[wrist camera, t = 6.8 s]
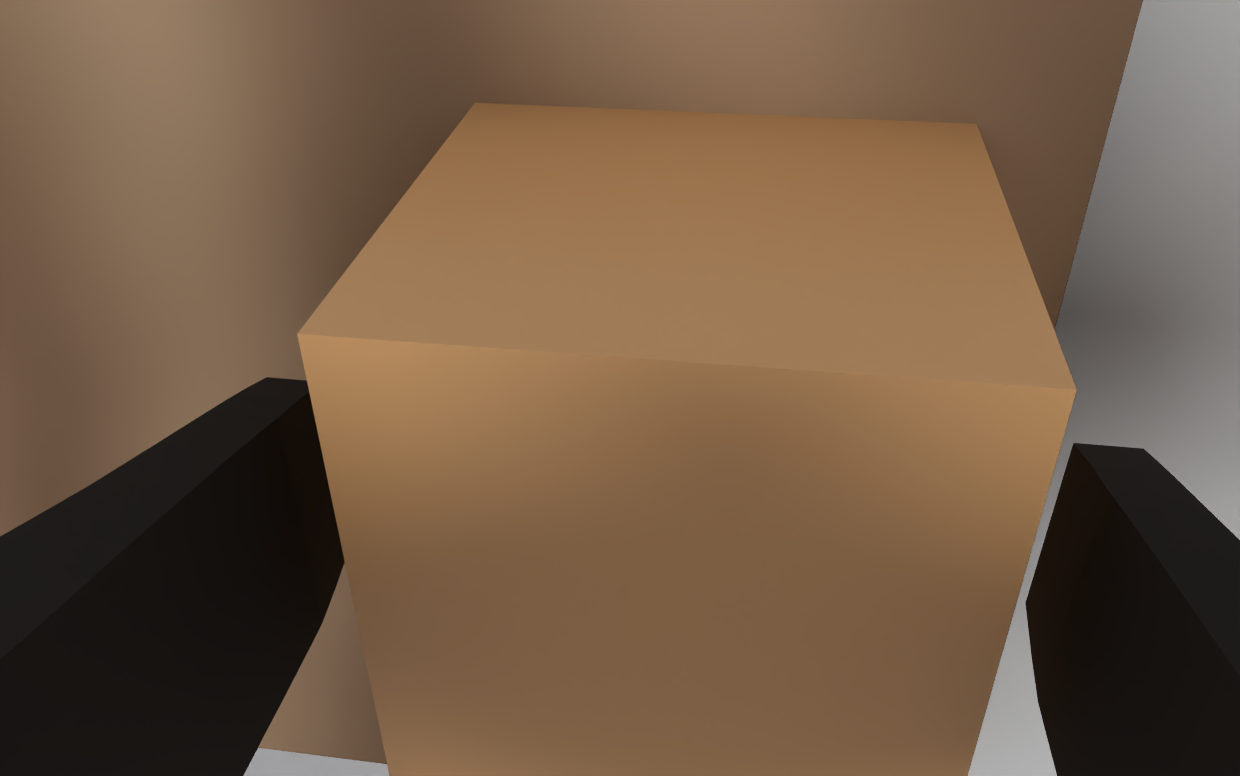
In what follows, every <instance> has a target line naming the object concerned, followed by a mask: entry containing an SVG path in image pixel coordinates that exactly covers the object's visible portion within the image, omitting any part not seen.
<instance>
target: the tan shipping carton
mask: <svg viewBox="0 0 1240 776" xmlns="http://www.w3.org/2000/svg"><path fill="white" fill-rule="evenodd" d="M297 336H298V341H299V345H300V350H301V355H302V360H303V364H304V369H305V374H306V379H307V384H308V388H309V393H310V398H311V403H312V407H313V412H314V417H315V422H316V427H317V431H318V436H319V441H320V446H321V450H322V455H323V460H324V465H325V470H326V474H327V479H328V484H329V489H330V493H331V498H332V503H333V508H334V513H335V517H336V522H337V527H338V532H339V536H340V541H341V546H342V551H343V556H344V560H345V565H346V570H347V575H348V579H349V584H350V589H351V594H352V599H353V603H354V608H355V613H356V618H357V622H358V627H359V632H360V637H361V642H362V646H363V651H364V656H365V661H366V665H367V670H368V675H369V680H370V684H371V689H372V694H373V699H374V704H375V708H376V713H377V718H378V723H379V727H380V732H381V737H382V742H383V747H384V751H385V756H386V761H387V766H388V770H389V775H390V776H968V772H969V769H970V765H971V762H972V758H973V754H974V751H975V747H976V744H977V740H978V737H979V733H980V730H981V726H982V723H983V719H984V716H985V712H986V709H987V705H988V702H989V698H990V694H991V691H992V687H993V684H994V680H995V677H996V673H997V670H998V666H999V663H1000V659H1001V656H1002V652H1003V649H1004V645H1005V642H1006V638H1007V635H1008V631H1009V627H1010V624H1011V620H1012V617H1013V613H1014V610H1015V606H1016V603H1017V599H1018V596H1019V592H1020V589H1021V585H1022V582H1023V578H1024V575H1025V571H1026V567H1027V564H1028V560H1029V557H1030V553H1031V550H1032V546H1033V543H1034V539H1035V536H1036V532H1037V529H1038V525H1039V522H1040V518H1041V515H1042V511H1043V507H1044V504H1045V500H1046V497H1047V493H1048V490H1049V486H1050V483H1051V479H1052V476H1053V472H1054V469H1055V465H1056V462H1057V458H1058V455H1059V451H1060V448H1061V444H1062V440H1063V437H1064V433H1065V430H1066V426H1067V423H1068V419H1069V416H1070V412H1071V409H1072V405H1073V402H1074V398H1075V395H1076V391H1077V389H1076V386H1075V383H1074V381H1073V378H1072V376H1071V373H1070V370H1069V368H1068V365H1067V362H1066V360H1065V357H1064V354H1063V352H1062V349H1061V346H1060V344H1059V341H1058V338H1057V336H1056V333H1055V330H1054V328H1053V325H1052V322H1051V320H1050V317H1049V314H1048V312H1047V309H1046V307H1045V304H1044V301H1043V299H1042V296H1041V293H1040V291H1039V288H1038V285H1037V283H1036V280H1035V277H1034V275H1033V272H1032V269H1031V267H1030V264H1029V261H1028V259H1027V256H1026V253H1025V251H1024V248H1023V246H1022V243H1021V240H1020V238H1019V235H1018V232H1017V230H1016V227H1015V224H1014V222H1013V219H1012V216H1011V214H1010V211H1009V208H1008V206H1007V203H1006V200H1005V198H1004V195H1003V192H1002V190H1001V187H1000V184H999V182H998V179H997V177H996V174H995V171H994V169H993V166H992V163H991V161H990V158H989V155H988V153H987V150H986V147H985V145H984V142H983V139H982V137H981V134H980V131H979V129H978V126H977V124H968V123H945V122H921V121H897V120H873V119H849V118H826V117H802V116H778V115H754V114H731V113H707V112H683V111H659V110H635V109H612V108H588V107H564V106H540V105H517V104H493V103H474V105H473V106H472V107H471V109H470V110H469V111H468V113H467V114H466V115H465V116H464V118H463V119H462V120H461V122H460V123H459V124H458V126H457V127H456V128H455V129H454V131H453V132H452V133H451V135H450V136H449V137H448V139H447V140H446V141H445V142H444V144H443V145H442V146H441V148H440V149H439V150H438V152H437V153H436V154H435V155H434V157H433V158H432V159H431V161H430V162H429V163H428V165H427V166H426V167H425V168H424V170H423V171H422V172H421V174H420V175H419V176H418V178H417V179H416V180H415V181H414V183H413V184H412V185H411V187H410V188H409V189H408V191H407V192H406V193H405V194H404V196H403V197H402V198H401V200H400V201H399V202H398V204H397V205H396V206H395V207H394V209H393V210H392V211H391V213H390V214H389V215H388V216H387V218H386V219H385V220H384V222H383V223H382V224H381V226H380V227H379V228H378V229H377V231H376V232H375V233H374V235H373V236H372V237H371V239H370V240H369V241H368V242H367V244H366V245H365V246H364V248H363V249H362V250H361V252H360V253H359V254H358V255H357V257H356V258H355V259H354V261H353V262H352V263H351V265H350V266H349V267H348V268H347V270H346V271H345V272H344V274H343V275H342V276H341V278H340V279H339V280H338V281H337V283H336V284H335V285H334V287H333V288H332V289H331V291H330V292H329V293H328V294H327V296H326V297H325V298H324V300H323V301H322V302H321V304H320V305H319V306H318V307H317V309H316V310H315V311H314V313H313V314H312V315H311V317H310V318H309V319H308V320H307V322H306V323H305V324H304V326H303V327H302V328H301V330H300V331H299V332H298V333H297Z"/></svg>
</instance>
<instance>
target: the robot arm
mask: <svg viewBox="0 0 1240 776" xmlns="http://www.w3.org/2000/svg"><path fill="white" fill-rule="evenodd" d="M344 562H345V560H344V556H343V551H342V546H341V541H340V536H339V532H338V527H337V522H336V517H335V513H334V508H333V503H332V498H331V493H330V489H329V484H328V479H327V474H326V470H325V465H324V460H323V455H322V450H321V446H320V441H319V436H318V431H317V427H316V422H315V417H314V412H313V407H312V403H311V398H310V393H309V388H308V384H307V380H295V379H283V378H271V377H266V378H264V379H262V380H260V381H259V382H257V383H255V384H253V385H251V386H249V387H247V388H246V389H244V390H242V391H240V392H239V393H237V394H235V395H234V396H232V397H230V398H229V399H227V400H225V401H224V402H222V403H220V404H219V405H217V406H215V407H214V408H212V409H211V410H209V411H207V412H206V413H204V414H203V415H201V416H199V417H198V418H196V419H195V420H193V421H191V422H190V423H188V424H187V425H185V426H183V427H182V428H180V429H179V430H177V431H176V432H174V433H172V434H171V435H169V436H168V437H166V438H165V439H163V440H161V441H160V442H158V443H157V444H155V445H153V446H152V447H150V448H148V449H147V450H145V451H144V452H142V453H140V454H139V455H137V456H136V457H134V458H132V459H131V460H129V461H128V462H126V463H124V464H123V465H121V466H120V467H118V468H116V469H115V470H113V471H112V472H110V473H108V474H107V475H105V476H103V477H102V478H100V479H99V480H97V481H95V482H94V483H92V484H91V485H89V486H87V487H86V488H84V489H82V490H80V491H79V492H77V493H75V494H73V495H72V496H70V497H68V498H66V499H65V500H63V501H61V502H60V503H58V504H56V505H54V506H53V507H51V508H49V509H47V510H46V511H44V512H42V513H40V514H39V515H37V516H35V517H33V518H32V519H30V520H28V521H26V522H25V523H23V524H21V525H19V526H18V527H16V528H14V529H12V530H11V531H9V532H7V533H5V534H4V535H2V536H0V776H243V775H244V773H245V771H246V769H247V767H248V766H249V764H250V762H251V760H252V758H253V756H254V754H255V752H256V750H257V748H258V747H259V745H260V743H261V741H262V739H263V737H264V735H265V733H266V731H267V729H268V728H269V726H270V724H271V722H272V720H273V718H274V716H275V714H276V712H277V710H278V709H279V707H280V705H281V703H282V701H283V699H284V697H285V695H286V693H287V691H288V690H289V688H290V686H291V684H292V682H293V680H294V678H295V676H296V674H297V672H298V670H299V668H300V666H301V664H302V662H303V660H304V658H305V657H306V655H307V653H308V651H309V649H310V647H311V645H312V643H313V641H314V639H315V637H316V635H317V633H318V631H319V629H320V627H321V625H322V623H323V620H324V618H325V615H326V612H327V610H328V607H329V604H330V602H331V599H332V596H333V594H334V591H335V588H336V586H337V583H338V580H339V577H340V574H341V571H342V568H343V565H344ZM1026 611H1027V619H1028V628H1029V637H1030V645H1031V654H1032V662H1033V669H1034V676H1035V683H1036V690H1037V697H1038V703H1039V707H1040V711H1041V715H1042V719H1043V723H1044V727H1045V731H1046V735H1047V738H1048V742H1049V746H1050V750H1051V754H1052V757H1053V761H1054V765H1055V769H1056V773H1057V776H1240V540H1239V539H1238V538H1237V537H1236V536H1235V535H1234V534H1233V533H1232V532H1231V531H1230V530H1229V529H1228V528H1226V527H1225V526H1224V525H1223V524H1222V523H1221V522H1220V521H1219V520H1218V519H1217V518H1216V517H1215V516H1214V515H1213V514H1212V513H1211V512H1210V511H1209V510H1208V509H1207V508H1206V507H1205V506H1204V505H1203V504H1202V503H1201V502H1200V501H1199V500H1198V499H1197V498H1196V497H1195V496H1193V495H1192V494H1191V493H1190V492H1189V491H1188V490H1187V489H1186V488H1185V487H1184V486H1183V485H1182V484H1181V483H1180V482H1179V481H1178V480H1177V479H1176V478H1175V477H1174V476H1173V475H1172V474H1171V473H1170V472H1169V471H1167V470H1166V469H1165V468H1164V467H1163V466H1162V465H1161V464H1160V463H1159V462H1158V461H1157V460H1155V459H1154V458H1153V457H1152V456H1151V455H1150V454H1149V453H1148V452H1146V451H1145V450H1144V449H1140V448H1128V447H1116V446H1103V445H1091V444H1079V443H1073V447H1072V450H1071V453H1070V457H1069V460H1068V463H1067V467H1066V470H1065V473H1064V477H1063V480H1062V483H1061V487H1060V490H1059V493H1058V497H1057V500H1056V503H1055V507H1054V510H1053V513H1052V517H1051V520H1050V523H1049V527H1048V530H1047V533H1046V537H1045V540H1044V543H1043V547H1042V550H1041V554H1040V557H1039V560H1038V564H1037V567H1036V570H1035V574H1034V577H1033V580H1032V584H1031V587H1030V590H1029V594H1028V597H1027V600H1026Z"/></svg>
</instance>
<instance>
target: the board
mask: <svg viewBox="0 0 1240 776" xmlns="http://www.w3.org/2000/svg"><path fill="white" fill-rule="evenodd" d="M1142 1H1143V0H0V536H2V535H4V534H5V533H7V532H9V531H11V530H12V529H14V528H16V527H18V526H19V525H21V524H23V523H25V522H26V521H28V520H30V519H32V518H33V517H35V516H37V515H39V514H40V513H42V512H44V511H46V510H47V509H49V508H51V507H53V506H54V505H56V504H58V503H60V502H61V501H63V500H65V499H66V498H68V497H70V496H72V495H73V494H75V493H77V492H79V491H80V490H82V489H84V488H86V487H87V486H89V485H91V484H92V483H94V482H95V481H97V480H99V479H100V478H102V477H103V476H105V475H107V474H108V473H110V472H112V471H113V470H115V469H116V468H118V467H120V466H121V465H123V464H124V463H126V462H128V461H129V460H131V459H132V458H134V457H136V456H137V455H139V454H140V453H142V452H144V451H145V450H147V449H148V448H150V447H152V446H153V445H155V444H157V443H158V442H160V441H161V440H163V439H165V438H166V437H168V436H169V435H171V434H172V433H174V432H176V431H177V430H179V429H180V428H182V427H183V426H185V425H187V424H188V423H190V422H191V421H193V420H195V419H196V418H198V417H199V416H201V415H203V414H204V413H206V412H207V411H209V410H211V409H212V408H214V407H215V406H217V405H219V404H220V403H222V402H224V401H225V400H227V399H229V398H230V397H232V396H234V395H235V394H237V393H239V392H240V391H242V390H244V389H246V388H247V387H249V386H251V385H253V384H255V383H257V382H259V381H260V380H262V379H264V378H266V377H271V378H283V379H295V380H307V379H306V374H305V369H304V364H303V360H302V355H301V350H300V345H299V341H298V336H297V333H298V332H299V331H300V330H301V328H302V327H303V326H304V324H305V323H306V322H307V320H308V319H309V318H310V317H311V315H312V314H313V313H314V311H315V310H316V309H317V307H318V306H319V305H320V304H321V302H322V301H323V300H324V298H325V297H326V296H327V294H328V293H329V292H330V291H331V289H332V288H333V287H334V285H335V284H336V283H337V281H338V280H339V279H340V278H341V276H342V275H343V274H344V272H345V271H346V270H347V268H348V267H349V266H350V265H351V263H352V262H353V261H354V259H355V258H356V257H357V255H358V254H359V253H360V252H361V250H362V249H363V248H364V246H365V245H366V244H367V242H368V241H369V240H370V239H371V237H372V236H373V235H374V233H375V232H376V231H377V229H378V228H379V227H380V226H381V224H382V223H383V222H384V220H385V219H386V218H387V216H388V215H389V214H390V213H391V211H392V210H393V209H394V207H395V206H396V205H397V204H398V202H399V201H400V200H401V198H402V197H403V196H404V194H405V193H406V192H407V191H408V189H409V188H410V187H411V185H412V184H413V183H414V181H415V180H416V179H417V178H418V176H419V175H420V174H421V172H422V171H423V170H424V168H425V167H426V166H427V165H428V163H429V162H430V161H431V159H432V158H433V157H434V155H435V154H436V153H437V152H438V150H439V149H440V148H441V146H442V145H443V144H444V142H445V141H446V140H447V139H448V137H449V136H450V135H451V133H452V132H453V131H454V129H455V128H456V127H457V126H458V124H459V123H460V122H461V120H462V119H463V118H464V116H465V115H466V114H467V113H468V111H469V110H470V109H471V107H472V106H473V105H474V103H493V104H517V105H540V106H564V107H588V108H612V109H635V110H659V111H683V112H707V113H731V114H754V115H778V116H802V117H826V118H849V119H873V120H897V121H921V122H945V123H968V124H977V126H978V129H979V131H980V134H981V137H982V139H983V142H984V145H985V147H986V150H987V153H988V155H989V158H990V161H991V163H992V166H993V169H994V171H995V174H996V177H997V179H998V182H999V184H1000V187H1001V190H1002V192H1003V195H1004V198H1005V200H1006V203H1007V206H1008V208H1009V211H1010V214H1011V216H1012V219H1013V222H1014V224H1015V227H1016V230H1017V232H1018V235H1019V238H1020V240H1021V243H1022V246H1023V248H1024V251H1025V253H1026V256H1027V259H1028V261H1029V264H1030V267H1031V269H1032V272H1033V275H1034V277H1035V280H1036V283H1037V285H1038V288H1039V291H1040V293H1041V296H1042V299H1043V301H1044V304H1045V307H1046V309H1047V312H1048V314H1049V317H1050V320H1051V322H1052V325H1053V328H1054V330H1055V326H1056V322H1057V319H1058V315H1059V311H1060V307H1061V304H1062V300H1063V296H1064V292H1065V289H1066V285H1067V281H1068V277H1069V274H1070V270H1071V266H1072V263H1073V259H1074V255H1075V251H1076V248H1077V244H1078V240H1079V236H1080V233H1081V229H1082V225H1083V221H1084V218H1085V214H1086V210H1087V207H1088V203H1089V199H1090V195H1091V192H1092V188H1093V184H1094V180H1095V177H1096V173H1097V169H1098V166H1099V162H1100V158H1101V154H1102V151H1103V147H1104V143H1105V139H1106V136H1107V132H1108V128H1109V124H1110V121H1111V117H1112V113H1113V110H1114V106H1115V102H1116V98H1117V95H1118V91H1119V87H1120V83H1121V80H1122V76H1123V72H1124V68H1125V65H1126V61H1127V57H1128V54H1129V50H1130V46H1131V42H1132V39H1133V35H1134V31H1135V27H1136V24H1137V20H1138V16H1139V13H1140V9H1141V5H1142ZM258 748H266V749H274V750H282V751H289V752H297V753H305V754H313V755H321V756H328V757H336V758H344V759H352V760H360V761H367V762H375V763H383V764H387V761H386V756H385V751H384V747H383V742H382V737H381V732H380V727H379V723H378V718H377V713H376V708H375V704H374V699H373V694H372V689H371V684H370V680H369V675H368V670H367V665H366V661H365V656H364V651H363V646H362V642H361V637H360V632H359V627H358V622H357V618H356V613H355V608H354V603H353V599H352V594H351V589H350V584H349V579H348V575H347V570H346V565H345V562H344V565H343V568H342V571H341V574H340V577H339V580H338V583H337V586H336V588H335V591H334V594H333V596H332V599H331V602H330V604H329V607H328V610H327V612H326V615H325V618H324V620H323V623H322V625H321V627H320V629H319V631H318V633H317V635H316V637H315V639H314V641H313V643H312V645H311V647H310V649H309V651H308V653H307V655H306V657H305V658H304V660H303V662H302V664H301V666H300V668H299V670H298V672H297V674H296V676H295V678H294V680H293V682H292V684H291V686H290V688H289V690H288V691H287V693H286V695H285V697H284V699H283V701H282V703H281V705H280V707H279V709H278V710H277V712H276V714H275V716H274V718H273V720H272V722H271V724H270V726H269V728H268V729H267V731H266V733H265V735H264V737H263V739H262V741H261V743H260V745H259V747H258Z"/></svg>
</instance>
